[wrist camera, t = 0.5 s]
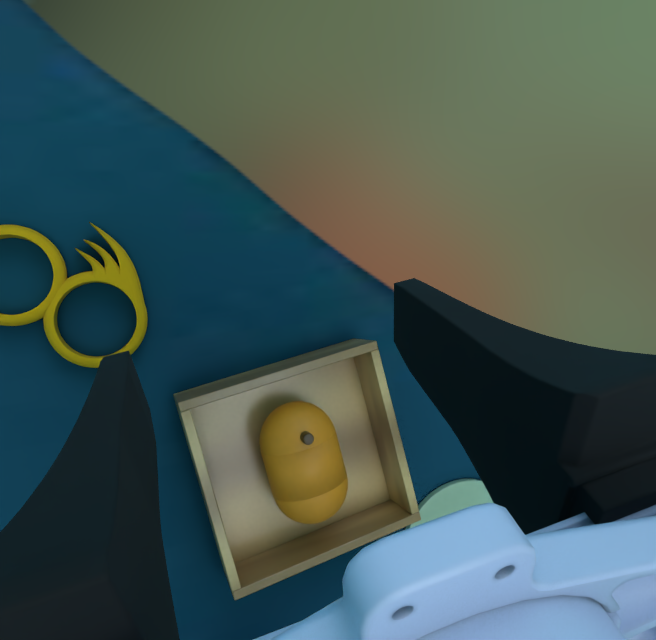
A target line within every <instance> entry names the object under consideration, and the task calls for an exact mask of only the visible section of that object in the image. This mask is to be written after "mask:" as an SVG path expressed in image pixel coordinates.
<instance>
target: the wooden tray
mask: <svg viewBox="0 0 656 640" xmlns="http://www.w3.org/2000/svg"><path fill="white" fill-rule="evenodd" d="M377 349H378V346H377V342H376V341H372V340H363V339H351V340H347V341H344V342H341V343H338V344H334V345H331V346H328V347H325V348H321V349H318V350H315V351H312V352H308V353H305V354H302V355H299V356H295V357H292V358H289V359H286V360H282V361H279V362H276V363H273V364H269V365H266V366H263V367H260V368H256V369H253V370H250V371H247V372H243V373H240V374H237V375H234V376H230V377H227V378H224V379H221V380H217V381H214V382H211V383H208V384H204V385H201V386H198V387H195V388H191V389H188V390H185V391H182V392H178V393H175V394H173V396H174V399H175V403H176V406H177V410H178V413H179V417H180V420H181V424H182V427H183V431H184V434H185V437H186V441H187V444H188V448H189V451H190V455H191V458H192V462H193V465H194V469H195V472H196V476H197V479H198V482H199V486H200V489H201V493H202V496H203V500H204V503H205V507H206V510H207V514H208V517H209V520H210V524H211V527H212V531H213V534H214V538H215V541H216V545H217V548H218V552H219V555H220V559H221V562H222V565H223V569H224V572H225V575H226V578H227V581H228V584H229V586H230V589H231V592H232V595H233V598H234V600H238V599H240V598H242V597H245V596H247V595H249V594H252V593H254V592H256V591H258V590H261V589H263V588H265V587H268V586H270V585H272V584H275V583H277V582H279V581H281V580H284V579H286V578H288V577H291V576H293V575H295V574H298V573H300V572H302V571H304V570H307V569H309V568H311V567H314V566H316V565H318V564H321V563H323V562H325V561H327V560H330V559H332V558H334V557H337V556H339V555H341V554H344V553H346V552H348V551H350V550H353V549H355V548H357V547H360V546H362V545H364V544H367V543H369V542H371V541H373V540H376V539H378V538H380V537H383V536H385V535H387V534H390V533H392V532H394V531H397V530H399V529H401V528H403V527H406V526H408V525H410V524H413V523H415V522H417V521H420V520H421V516H420V512H419V509H418V505H417V501H416V497H415V493H414V489H413V485H412V481H411V477H410V473H409V469H408V465H407V461H406V457H405V453H404V449H403V445H402V441H401V437H400V433H399V429H398V425H397V421H396V417H395V414H394V410H393V406H392V402H391V398H390V394H389V390H388V386H387V382H386V378H385V374H384V370H383V366H382V362H381V358H380V354H379V350H377ZM294 401H303V402H308V403H311V404H314V405H316V406H318V407H319V408H321V409H322V410H323V411H324V412H325V413H326V414H327V415H328V416H329V418H330V419H331V421H332V422H333V425H334V428H335V430H336V434H337V438H338V442H339V446H340V449H341V453H342V457H343V461H344V465H345V468H346V472H347V478H348V490H347V494H346V498H345V501H344V503H343V505H342V506H341V508H340V509H339V510H338V511H337V512H336V514H335V515H333V516H332V517H330V518H329V519H327V520H325V521H323V522H320V523H316V524H303V523H299V522H296V521H294V520H292V519H290V518H288V517H287V516H286V515H285V514H284V513H283V512H282V511H281V510H280V509H279V507H278V506H277V504H276V502H275V499H274V497H273V494H272V491H271V487H270V484H269V480H268V476H267V473H266V469H265V465H264V462H263V458H262V455H261V451H260V445H259V439H260V432H261V428H262V426H263V423H264V421H265V420H266V418H267V417H268V416H269V414H270V413H271V412H272V411H274V410H275V409H276V408H277V407H279V406H281V405H283V404H285V403H288V402H294Z"/></svg>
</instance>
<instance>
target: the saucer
mask: <svg viewBox="0 0 656 640" xmlns="http://www.w3.org/2000/svg"><path fill="white" fill-rule="evenodd" d="M485 503H493V501H492V499H491V497H490V495H489V493H488V491H487V489H486V488H485V486H484V484H483V482H482V480H479V479H460V480H455V481H452V482H449V483H446V484H444V485H442V486H440V487H438V488H437V489H435V490H434V491H432V492H431V493H430V494H429V495H428V496H427V497H425V498H424V499H423V501H422V502H421V503H420V504H419V505H418V509H419V512H420V516H421V520H420V521H417V522H415V523H413V524H410V525H408V526H406V528H405V530H406V529H409V528H412V527H415V526H417V525H420V524H423V523H426V522H428V521H431V520H434V519H437V518H440V517H442V516H445V515H448V514H451V513H453V512H456V511H459V510H462V509H464V508H467V507H470V506H474V505H479V504H485Z"/></svg>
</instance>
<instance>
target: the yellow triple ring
mask: <svg viewBox="0 0 656 640" xmlns="http://www.w3.org/2000/svg"><path fill="white" fill-rule="evenodd" d="M89 223H90V222H89ZM90 224H91V225H92V226H93V227H94V228H95V229H96V230H97V231H98V232H99V234H100V235H101V236H102V237H103V238H104V239H105V240H106V242H107V243H108V244H109V245H110V247H111V248H112V249H113V251H114V253H115V254H116V256H117V258H118V261H119V265H120V268H119V266H118V265H117V263H116V262H115V260H114V259H113V258H112V257H111V256H110V254H108V253H107V252H106V251H105V250H104V249H103V248H102V247H100V246H98V245H97V244H95V243H92V242H90V241H87V240H84V241H85V242H86V243H87V244H89V245H90V246H91V247H92V248H94V249H95V250H96V251H97V252H98V253H99V254H100V255H101V257H102V258H103V260H104V263H105V268H104V267H103V266H102V265H101V264H100V263H99V262H98V261H97V260H96V259H94V258H93V257H91V256H90V255H88V254H86V253H84V252H82V251H80V250H78V249H76V248H75V249H76V250H77V251H78V252H79V253H80V254H81V255H82V256H83V257H84V258H85V259H86V260H87V261H88V262H89V263H90V264H91V266H92V269H93V271H88V272H82V273H79V274H76V275H73V276H71V277H69V278H67V270H66V265H65V262H64V259H63V257H62V255H61V254H60V252H59V250H58V249H57V248H56V247H55V245H54V244H53V243H52V242H51V241H50V240H49V239H47V238H46V237H45V236H43V235H42V234H40V233H38V232H37V231H34V230H32V229H30V228H27V227H23V226H18V225H0V239H4V238H21V239H25V240H28V241H31V242H33V243H35V244H37V245H38V246H40V247H41V248H42V249H43V250H44V251H45V253H46V254H47V256H48V257H49V259H50V261H51V264H52V267H53V273H54V278H53V284H52V288H51V290H50V293H49V294H48V296H47V297H46V299H45V300H44V301H43V302H42V303H41V304H40V305H39V306H37V307H36V308H34V309H32V310H30V311H28V312H25V313H22V314H17V315H7V314H2V313H0V325H3V326H19V325H26V324H29V323H33V322H35V321H37V320H39V319H41V318H43V323H44V330H45V333H46V336H47V338H48V340H49V342H50V344H51V345H52V347H53V348H54V349H55V350H56V352H58V353H59V354H60V355H61V356H62V357H63V358H65V359H67V360H68V361H70V362H72V363H74V364H77V365H80V366H84V367H90V368H99V364H100V361H101V360H102V359H103V357H105V356H98V357H95V356H87V355H84V354H81V353H79V352H77V351H75V350H73V349H72V348H71V347H70V346H69V345H68V344H67V343H66V342H65V341H64V340H63V338H62V337H61V334H60V332H59V329H58V325H57V314H58V309H59V306H60V304H61V302H62V301H63V299H64V298H65V297H66V295H67V294H68V293H70V292H71V291H72V290H74V289H75V288H77V287H79V286H81V285H84V284H88V283H93V282H95V283H106V284H110V285H113V286H115V287H117V288H119V289H120V290H122V291H123V292H124V293H125V294H126V295H127V296H128V297H129V298H130V300H131V301H132V303H133V305H134V308H135V310H136V316H137V324H136V329H135V332H134V334H133V336H132V338H131V339H130V341H129V342H128V343H127V344H126V345H125V346H124V347H123V348H122V349H120V350H118V351H117V352H115V353H113V354H117V353H121V352H125V351H129V352H130V355H131V354H132V353H133V352H134V351H135V350H136V349H137V348H138V347H139V345H140V344H141V342H142V340H143V338H144V336H145V333H146V329H147V321H148V317H147V310H146V306H145V303H144V298H143V293H142V289H141V285H140V281H139V278H138V275H137V272H136V270H135V267H134V265H133V263H132V261H131V259H130V257H129V256H128V254H127V253H126V252H125V250H124V249H123V248H122V247H121V246H120V245H119V244H118V243H117V242H116V241H115V240H114V239H113V238H112V237H111V236H109V235H108V234H107V233H105V232H104V231H103V230H101V229H100V228H98V227H97V226H95V225H94V224H92V223H90ZM113 354H110V355H113ZM106 356H109V355H106Z"/></svg>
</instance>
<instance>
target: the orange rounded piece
mask: <svg viewBox="0 0 656 640" xmlns="http://www.w3.org/2000/svg"><path fill="white" fill-rule="evenodd" d="M259 445H260V451H261V455H262V458H263V462H264V465H265V469H266V473H267V476H268V480H269V484H270V487H271V491H272V494H273V497H274V499H275V502H276V504H277V506H278V507H279V509H280V510H281V511H282V512H283V513H284V514H285V515H286V516H287V517H288V518H290V519H292V520H294V521H296V522H299V523H303V524H316V523H320V522H323V521H325V520H327V519H329V518H330V517H332V516H333V515H335V514H336V512H337V511H338V510H339V509H340V508H341V506H342V505H343V503H344V501H345V498H346V494H347V490H348V478H347V472H346V468H345V465H344V461H343V457H342V453H341V449H340V446H339V442H338V438H337V434H336V430H335V428H334V425H333V422H332V421H331V419H330V418H329V416H328V415H327V414H326V413H325V412H324V411H323V410H322V409H321V408H319V407H318V406H316V405H314V404H311V403H308V402H303V401H294V402H288V403H285V404H283V405H281V406H279V407H277V408H276V409H275V410H274V411H272V412H271V413H270V414H269V416H268V417H267V418H266V420H265V421H264V423H263V426H262V428H261V432H260V439H259Z"/></svg>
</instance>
